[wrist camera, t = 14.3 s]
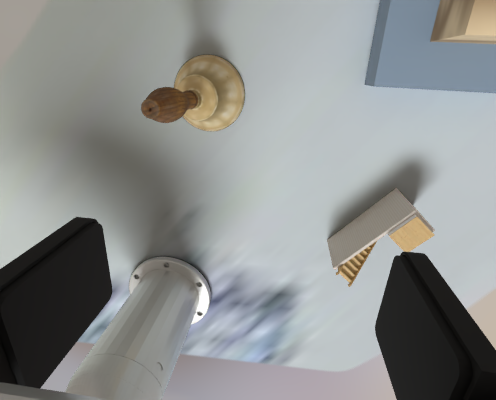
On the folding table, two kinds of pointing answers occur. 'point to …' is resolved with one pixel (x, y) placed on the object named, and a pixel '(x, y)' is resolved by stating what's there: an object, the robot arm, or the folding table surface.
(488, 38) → the oak cube
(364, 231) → the model
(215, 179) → the folding table surface
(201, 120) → the hand bell
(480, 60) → the slate base
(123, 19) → the folding table surface
